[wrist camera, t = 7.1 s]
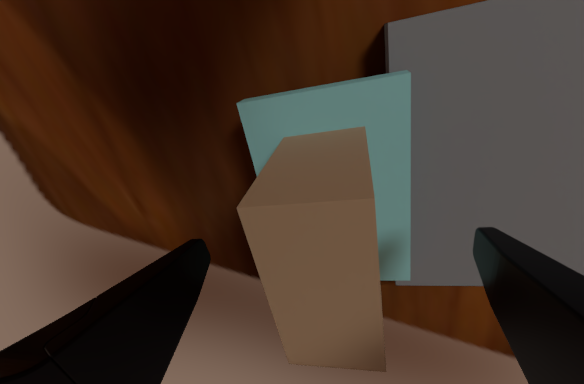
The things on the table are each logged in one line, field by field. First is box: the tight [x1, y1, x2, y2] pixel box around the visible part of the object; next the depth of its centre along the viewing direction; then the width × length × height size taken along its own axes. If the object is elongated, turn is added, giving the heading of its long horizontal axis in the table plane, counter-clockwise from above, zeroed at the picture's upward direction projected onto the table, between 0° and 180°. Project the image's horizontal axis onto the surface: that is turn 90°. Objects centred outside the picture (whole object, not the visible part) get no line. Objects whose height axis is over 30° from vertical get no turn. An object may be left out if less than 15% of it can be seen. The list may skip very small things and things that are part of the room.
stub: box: [237, 70, 411, 372], centre depth 10 cm, size 6×9×6 cm, turn 11°
